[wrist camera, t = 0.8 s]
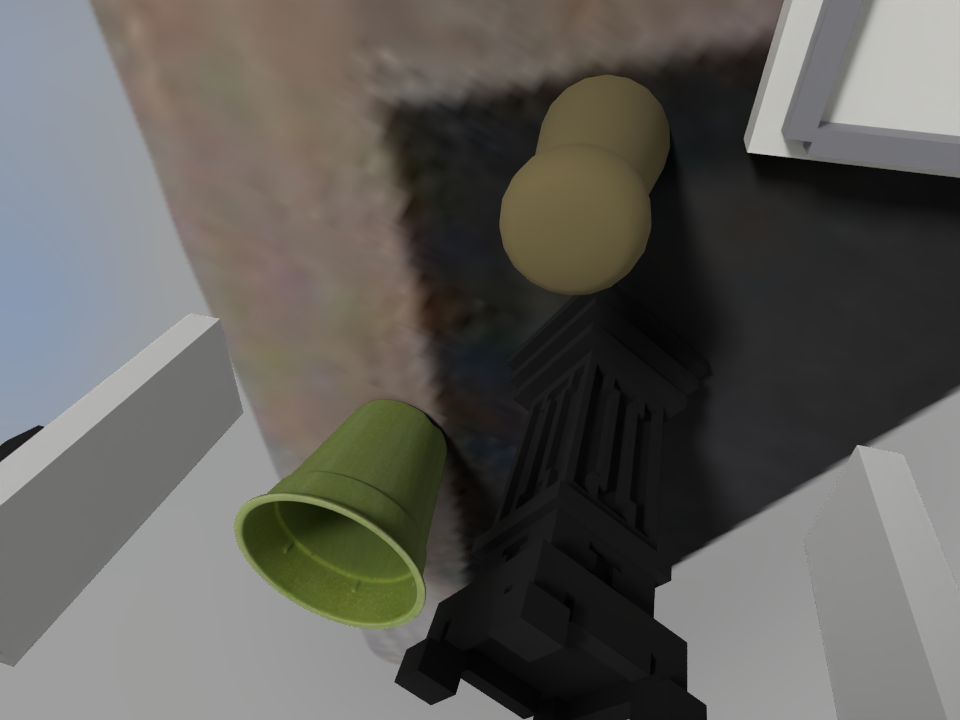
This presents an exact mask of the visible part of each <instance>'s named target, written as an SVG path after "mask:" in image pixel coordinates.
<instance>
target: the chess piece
mask: <svg viewBox="0 0 960 720" xmlns="http://www.w3.org/2000/svg"><path fill="white" fill-rule="evenodd" d="M507 366H509V367H510V368H511V369H512V370H514V372H513V373H512V376H511V379H510V382H511V383H513V384H514V385H515V386H516V387H518V389H517V390H516V392H515V394H514V397H513V399H514V400H515V401H516V402H518V403H519V404H520V405H522V406H523V407H524V408H526V409H527V410H528V411H529V414H528V417H527V420H526V423H525V427H524V430H523V433H522V436H521V439H520V442H519V445H518V449H517V452H516V455H515V458H514V461H513V464H512V467H511V470H510V474H509V477H508V480H507V483H506V486H505V489H504V492H503V495H502V499H501V502H500V505H499V508H498V511H497V514H496V517H495V521H494V524H493V527H492V528H491V529H489V530H488V531H486V532H485V533H483V534H482V535H480V536H479V537H478V538H476V539H475V541H474V544H473V547H472V550H471V553H470V555H472V556H473V557H474V558H476V559H477V560H479V561H480V562H481V564H480V568H479V571H478V574H477V577H476V580H475V581H474V582H473V583H471V584H469V585H468V586H466V587H465V588H463V589H461V590H460V591H458V592H457V593H455V594H453V595H452V596H450V597H448V598H447V599H445V600H444V601H442V602H440V603H439V604H438V607H437V610H436V613H435V615H434V618H433V621H432V624H431V626H430V629H429V632H428V635H427V637H426V639H425V640H423V641H421V642H419V643H417V644H416V645H414V646H412V647H410V648H409V649H407V650H406V653H405V655H404V658H403V661H402V663H401V666H400V669H399V671H398V674H397V676H396V679H395V683H397V684H398V685H400V686H401V687H403V688H405V689H406V690H408V691H409V692H411V693H412V694H414V695H416V696H417V697H419V698H420V699H422V700H424V701H425V702H427V703H428V704H430V705H433V704H435V703H437V702H440V701H442V700H444V699H447V698H449V697H451V696H454V695H456V692H457V689H458V685H459V682H460V679H463V680H464V681H466V682H467V683H469V684H471V685H472V686H474V687H475V688H477V689H478V690H480V691H481V692H483V693H485V694H486V695H487V696H489V697H490V698H492V699H494V700H495V701H497V702H498V703H500V704H501V705H503V706H504V707H506V708H508V709H509V710H510V711H512V712H514V713H515V714H517V715H518V716H520V717H521V718H523V719H526V718H529V717H531V716H534V717H533V720H627V719H630V720H707V708H706V705H705V704H704V703H702V702H701V701H700V700H698V699H697V698H695V697H694V696H693V695H691V694H690V693H688V692H687V642H686V641H684V640H683V639H681V638H680V637H678V636H677V635H676V634H674V633H673V632H672V631H670V630H669V629H668V628H666V627H665V626H663V625H662V624H661V623H659V622H658V621H657V620H655V619H654V598H655V588H656V587H658V586H660V585H663V584H665V583H667V582H669V581H671V567H672V563H671V562H670V561H668V560H667V559H666V558H664V557H663V556H662V555H660V554H659V553H658V552H657V535H658V514H659V493H660V472H661V451H662V429H663V423H664V422H666V421H667V420H668V419H670V418H671V417H673V416H674V415H676V414H677V413H679V412H680V411H682V410H683V409H685V408H686V407H687V396H688V395H690V394H691V393H692V392H694V391H695V390H697V389H698V388H699V387H698V378H700V377H701V376H703V375H704V374H706V373H707V372H708V371H709V362H708V361H706V360H705V359H704V358H703V357H702V356H701V355H699V354H698V353H697V352H696V351H695V350H693V349H692V348H691V347H690V346H689V345H687V344H686V343H685V342H684V341H683V340H681V339H680V338H679V337H678V336H677V335H676V334H674V333H673V332H672V331H671V330H670V329H668V328H667V327H666V326H665V325H664V324H662V323H661V322H660V321H659V320H658V319H656V318H655V317H654V316H653V315H652V314H650V313H649V312H648V311H647V310H646V309H645V308H643V307H642V306H641V305H640V304H639V303H637V302H636V301H635V300H634V299H633V298H631V297H630V296H629V295H628V294H627V293H625V292H624V291H623V290H622V289H621V288H620V287H618V286H617V285H616V284H614V285H612V286H611V287H609V288H606V289H603V290H601V291H598V292H595V293H592V294H586V295H574V296H573V297H572V298H571V299H570V300H569V301H568V302H567V303H566V304H565V305H564V306H563V307H562V308H561V309H560V310H559V311H558V312H557V313H555V314H554V315H553V316H552V317H551V318H550V319H549V320H548V321H547V322H546V323H545V324H544V325H543V326H542V327H541V328H540V329H539V330H538V331H537V332H536V333H534V334H533V335H532V336H531V337H530V338H529V339H528V340H527V341H526V342H525V343H524V344H523V345H522V346H521V347H520V348H519V349H518V350H517V351H516V352H514V353H513V354H512V355H511V356H510V357H509V360H508V362H507Z"/></svg>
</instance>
